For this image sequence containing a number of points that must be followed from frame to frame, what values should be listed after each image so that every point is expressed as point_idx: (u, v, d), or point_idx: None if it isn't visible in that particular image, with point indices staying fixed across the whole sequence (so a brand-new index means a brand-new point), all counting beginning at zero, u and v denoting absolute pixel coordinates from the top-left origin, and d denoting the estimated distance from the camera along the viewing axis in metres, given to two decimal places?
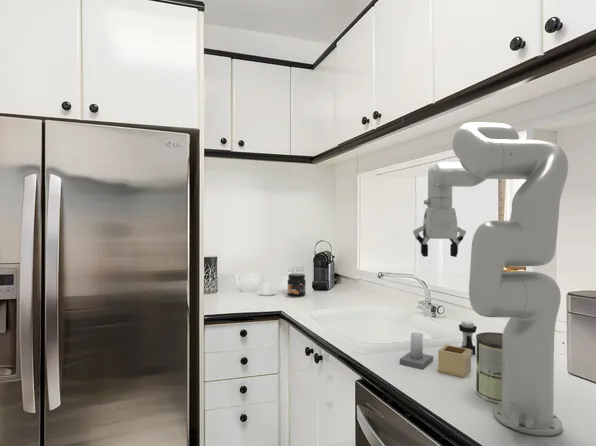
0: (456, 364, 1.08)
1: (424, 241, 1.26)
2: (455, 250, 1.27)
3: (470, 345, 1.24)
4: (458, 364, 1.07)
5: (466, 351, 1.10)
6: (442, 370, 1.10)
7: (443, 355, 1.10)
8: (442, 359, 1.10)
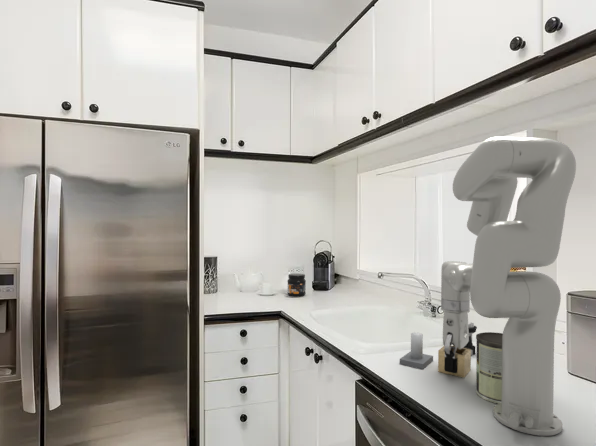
0: None
1: (454, 355, 1.07)
2: None
3: (470, 345, 1.24)
4: (458, 364, 1.07)
5: (466, 351, 1.10)
6: (442, 370, 1.10)
7: (443, 355, 1.10)
8: (442, 359, 1.10)
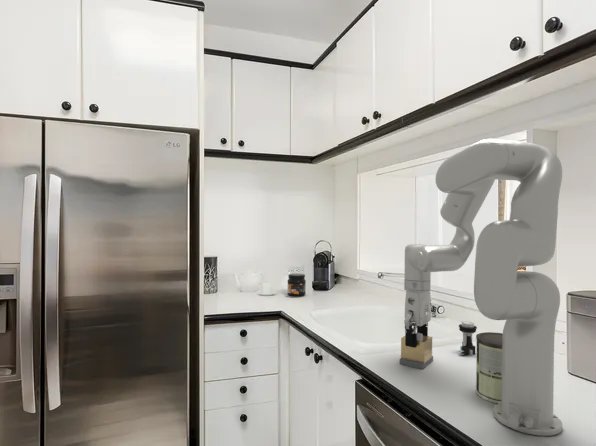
0: (416, 351, 1.14)
1: (414, 330, 1.13)
2: (426, 333, 1.21)
3: (470, 345, 1.24)
4: (419, 350, 1.14)
5: (427, 338, 1.16)
6: (404, 356, 1.16)
7: None
8: (404, 346, 1.16)
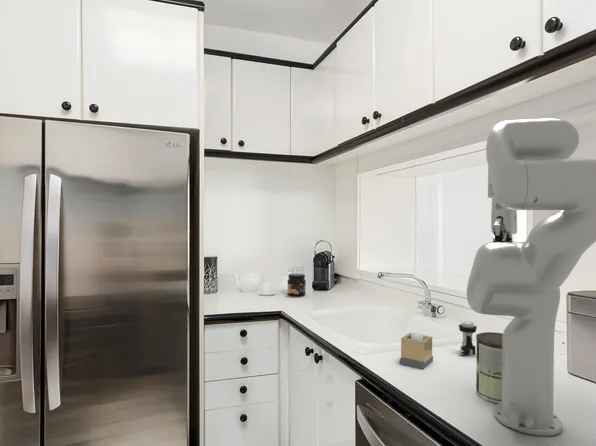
0: (416, 351, 1.14)
1: (504, 238, 0.99)
2: None
3: (470, 345, 1.24)
4: (419, 350, 1.14)
5: (427, 338, 1.16)
6: (404, 356, 1.16)
7: (405, 343, 1.16)
8: (404, 346, 1.16)
